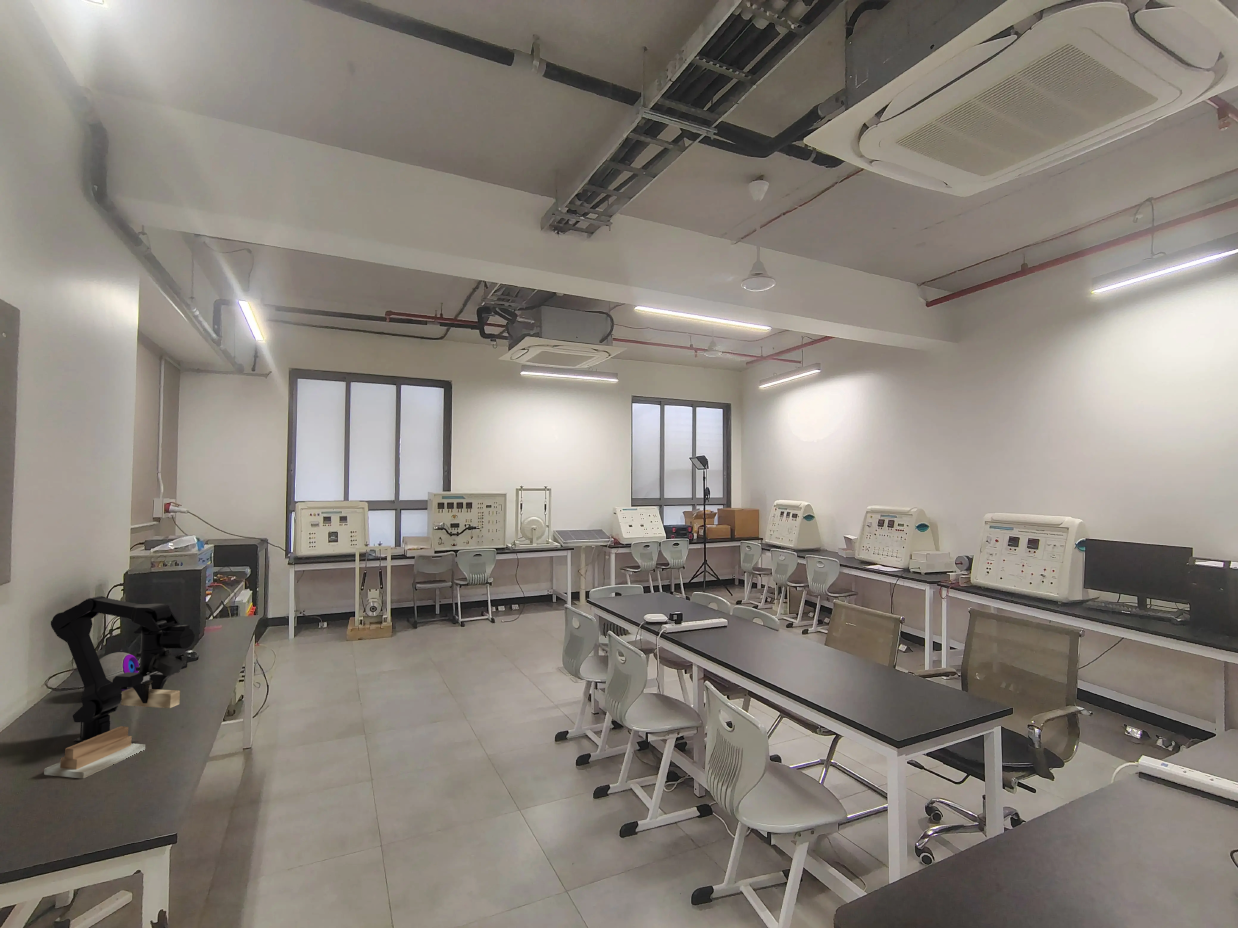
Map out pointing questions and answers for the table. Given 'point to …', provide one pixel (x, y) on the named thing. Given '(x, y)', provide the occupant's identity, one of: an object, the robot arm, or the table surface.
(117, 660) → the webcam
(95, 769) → the ridge stand
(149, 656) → the robot arm
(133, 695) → the light wooden block
